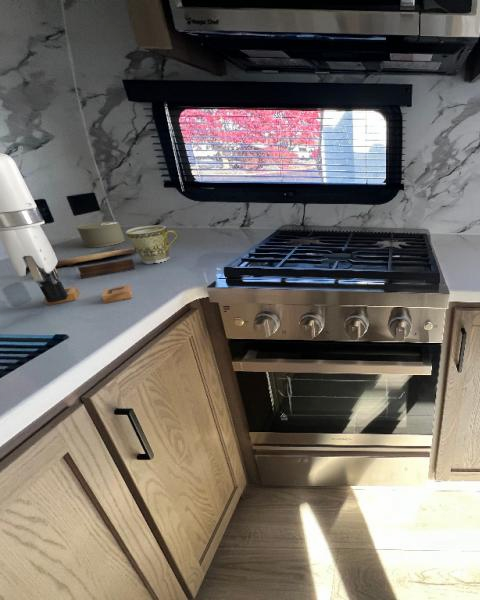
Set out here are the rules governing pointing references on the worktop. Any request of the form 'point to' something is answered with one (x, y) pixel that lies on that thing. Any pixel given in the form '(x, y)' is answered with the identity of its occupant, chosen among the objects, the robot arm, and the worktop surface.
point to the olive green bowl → (101, 234)
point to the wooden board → (93, 257)
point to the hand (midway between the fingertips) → (58, 299)
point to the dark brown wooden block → (106, 268)
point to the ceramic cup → (151, 243)
